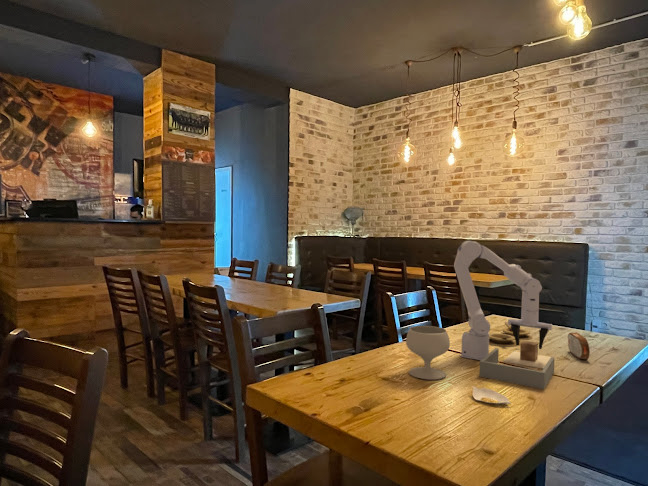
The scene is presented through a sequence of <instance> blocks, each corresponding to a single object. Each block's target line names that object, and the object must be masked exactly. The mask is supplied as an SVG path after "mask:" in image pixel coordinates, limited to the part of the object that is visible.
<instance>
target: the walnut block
mask: <svg viewBox="0 0 648 486" xmlns="http://www.w3.org/2000/svg"><path fill="white" fill-rule="evenodd" d="M519 346H520V348H519V349H520V351H519V352H520V360H526V361H532V362H536V360H537V359H538V355H539V354H538V353H539V352H538V351H539V342H536V341H531V340H521V342H520V343H519Z"/></svg>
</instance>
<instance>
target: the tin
mask: <svg viewBox="0 0 648 486" xmlns="http://www.w3.org/2000/svg"><path fill="white" fill-rule="evenodd" d="M567 344H568V345H567V347H568V350H569V352H570V353H571V355H573V356H575V357H576V358H577V359H578V360H589V358H590V356H591V355H590V353H591V351H590V345H589V342H588V339H587V338H586V337H585V336H583V335H582V334H580V333H579V332H569V333H568V335H567Z"/></svg>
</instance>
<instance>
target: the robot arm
mask: <svg viewBox="0 0 648 486" xmlns="http://www.w3.org/2000/svg"><path fill="white" fill-rule="evenodd" d="M477 258H479V259H484V260H487V261H488V262H490V263H491V264H492V265H494V266H496V267H497V268H499V269H500V270H501V271H503V276H504V278H507V279H508V280H509V281H511V282H512V283H514V284H515V285H516V286H517V287H520V289H521V291H522V292H521V295H522V296H521V311H520V312H521V313H520V314H521V315H520V316H521V317H520V319H513V318H509V319H507V322H508V325H511V330H512V332H513V334H514V337H515V340H514V341H515V342H516V345H517V346H520V343H521V342H520V341H521V340H519V333H520V329H521V327H525V328H534V329H539V330H538V331H539V333H538V335H539V337H538V339H539V342H538V350H542V349H543V346H544V342H545V338H546V336H547V335H548V332H549V331H552V330H553V324H552V323H546V322H540V321H539V316H540V315H539V311H540V308H539V307H540V292H541V291H542V289H543V286H542V284H541V281H539V280H538V279H537V278H534V277H533V276H532V274H531V273H530V272H528V273H527V272H526V271H525V270H524V269H522V266H521V265H519V264H515V263H511V264H509V263H508V262H506V260H504V259H503V258H501V257H500V256H498V255H497V254H496V253H495V252H494V251H492V250H491V249H489V248H488V247H486V246H485V245H483V244H480V243H479V242H477V241H474V240H465V241H463V242H462V243H461V244H460V246H458V248H457V251H456V256H455V258H454V259H455V260H454V263H453V269H454V270H455V274H456V277H457V281H458V283H459V287H460V291H461V293H462V296H463V299H464V303H465V306H466V309H467V314H468V326H469V327H470V329H469V331H468V332H467V331H466V332H465V331H464V332H463V333H462V336H461V355H460V357H461V358H466V359H471V360H478V361H481V360H482V359H483V358H484V357H486V356H487V355H488V354H489V353H490V345H489V334H490V331H491V324H490V322H489V321H488V320H487V318H486V317H485V313H484V312H483V310H482V308H481V304H480V302H479V298H478V295H477V291H476V288H475V285H474V282H473V280H472V276H471V273H470V270H469V268H470V266H471V265H472V263H473V261H475V260H476V259H477Z"/></svg>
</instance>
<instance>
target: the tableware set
mask: <svg viewBox="0 0 648 486" xmlns="http://www.w3.org/2000/svg"><path fill="white" fill-rule="evenodd" d="M504 324H505V326H506V327H504V328H503V329H502V332H501V333H499V332H498V333H493V332H492V333H489V346H494V347H499V348H501V347H502V348H512V347H517V346H518V345H516V341H515V337H514V334H513V332H512V330H511V325H508V321H505V322H504ZM530 334H531V331H530V330H527V329H525V328H520V333H519V340H520V341H531V340H532V339H533V336H532V335H530ZM515 350H516V351H519V350H520V348H515Z"/></svg>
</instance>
